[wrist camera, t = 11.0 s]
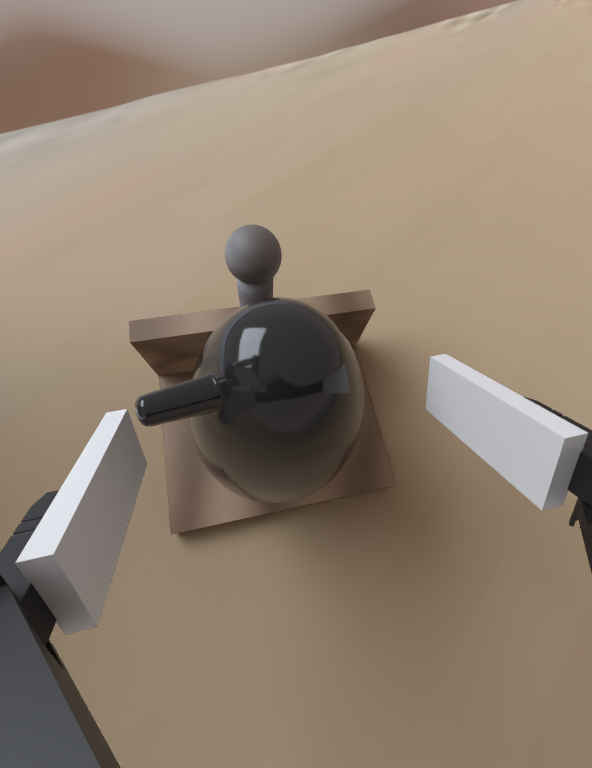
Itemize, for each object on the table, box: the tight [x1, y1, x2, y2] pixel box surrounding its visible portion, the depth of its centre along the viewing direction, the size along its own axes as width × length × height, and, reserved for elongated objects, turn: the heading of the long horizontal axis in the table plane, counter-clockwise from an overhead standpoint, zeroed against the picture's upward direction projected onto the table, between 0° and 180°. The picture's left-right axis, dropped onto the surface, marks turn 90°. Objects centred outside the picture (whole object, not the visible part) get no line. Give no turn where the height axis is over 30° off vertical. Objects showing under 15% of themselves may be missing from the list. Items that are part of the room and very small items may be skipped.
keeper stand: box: [129, 225, 395, 535], centre depth 20 cm, size 16×14×14 cm
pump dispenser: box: [135, 297, 364, 504], centre depth 18 cm, size 10×10×15 cm
